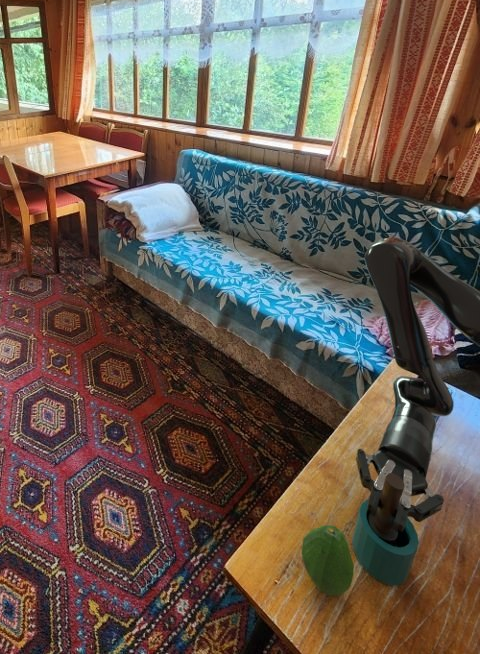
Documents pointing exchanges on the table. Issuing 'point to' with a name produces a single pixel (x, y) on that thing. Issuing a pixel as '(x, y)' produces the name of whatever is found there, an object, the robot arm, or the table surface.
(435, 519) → the table surface
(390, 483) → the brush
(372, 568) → the jar
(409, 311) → the robot arm
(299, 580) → the table surface
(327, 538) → the avocado
